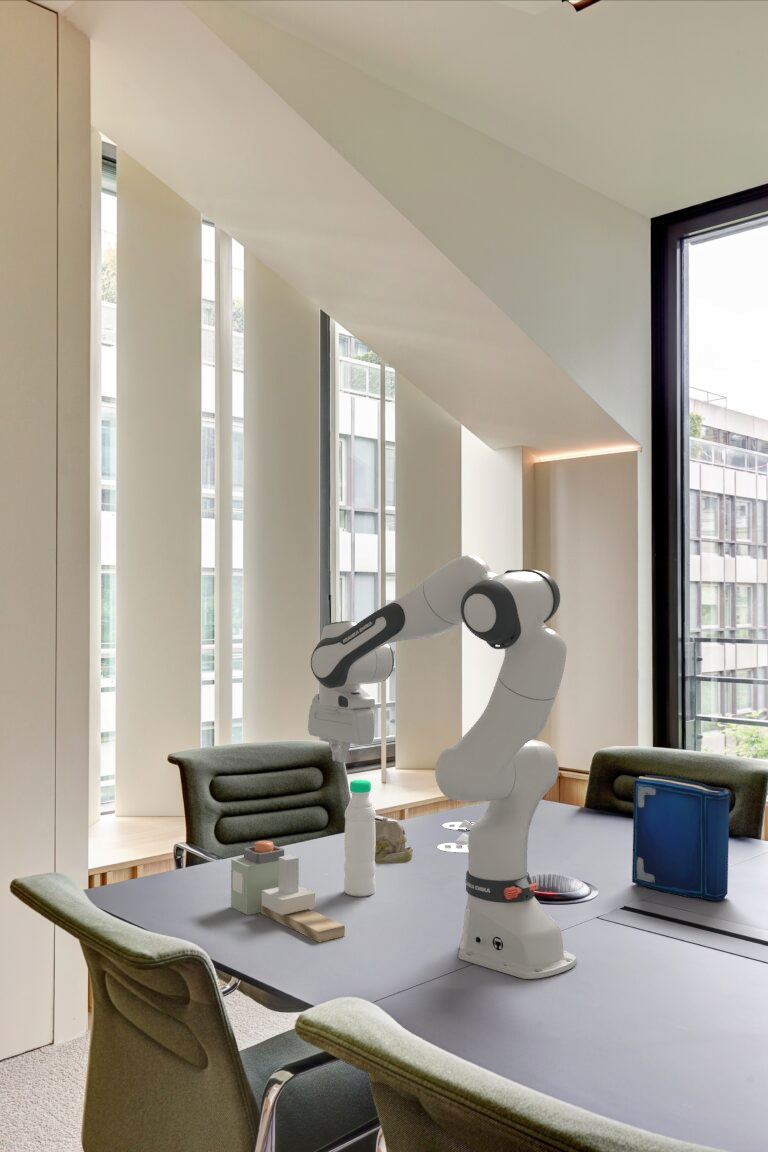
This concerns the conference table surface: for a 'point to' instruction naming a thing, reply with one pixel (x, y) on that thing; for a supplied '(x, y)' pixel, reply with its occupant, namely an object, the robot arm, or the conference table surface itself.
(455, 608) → the robot arm
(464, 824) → the cable organizer
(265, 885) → the end cabinet
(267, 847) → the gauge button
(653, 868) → the book
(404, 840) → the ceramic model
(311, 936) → the block
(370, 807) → the water bottle
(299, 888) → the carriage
